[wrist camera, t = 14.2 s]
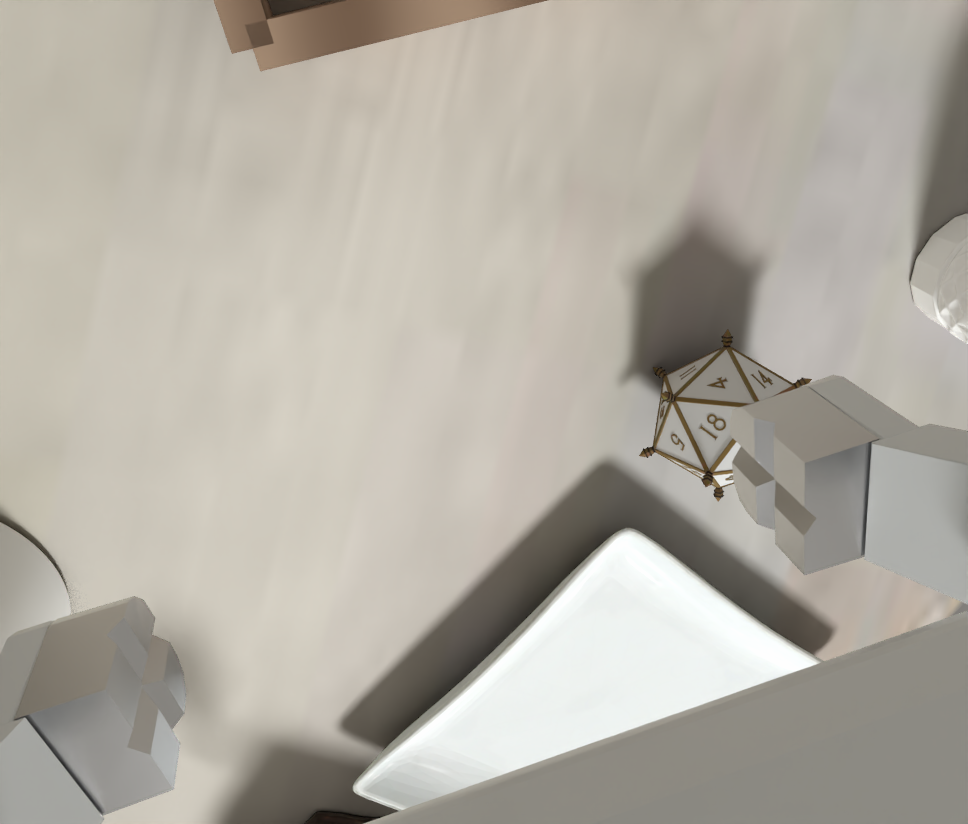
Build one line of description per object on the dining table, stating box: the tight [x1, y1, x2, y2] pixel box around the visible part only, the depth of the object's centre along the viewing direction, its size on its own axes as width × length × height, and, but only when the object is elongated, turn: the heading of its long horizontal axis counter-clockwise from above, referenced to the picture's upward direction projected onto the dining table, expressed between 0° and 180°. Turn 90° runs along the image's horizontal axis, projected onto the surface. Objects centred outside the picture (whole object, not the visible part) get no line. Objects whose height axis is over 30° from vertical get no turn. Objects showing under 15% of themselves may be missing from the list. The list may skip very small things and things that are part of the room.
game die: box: [639, 330, 812, 501], centre depth 42 cm, size 9×8×10 cm
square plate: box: [353, 528, 824, 811], centre depth 57 cm, size 27×27×4 cm
